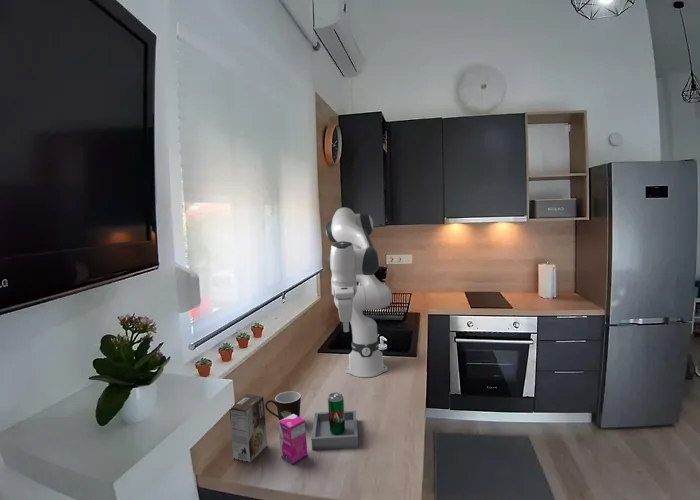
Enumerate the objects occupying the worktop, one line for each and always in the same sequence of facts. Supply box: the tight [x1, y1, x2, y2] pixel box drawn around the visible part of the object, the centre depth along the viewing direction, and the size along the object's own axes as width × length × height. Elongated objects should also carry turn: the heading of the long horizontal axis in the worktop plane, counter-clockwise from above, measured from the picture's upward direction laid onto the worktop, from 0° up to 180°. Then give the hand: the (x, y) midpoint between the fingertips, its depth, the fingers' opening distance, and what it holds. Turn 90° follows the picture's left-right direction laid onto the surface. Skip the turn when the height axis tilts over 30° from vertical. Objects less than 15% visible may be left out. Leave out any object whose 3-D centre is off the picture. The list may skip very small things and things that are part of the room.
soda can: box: [327, 392, 345, 435], centre depth 128 cm, size 5×5×12 cm
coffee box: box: [229, 393, 268, 463], centre depth 121 cm, size 9×6×16 cm
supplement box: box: [278, 414, 309, 465], centre depth 117 cm, size 6×6×12 cm
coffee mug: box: [264, 390, 302, 422], centre depth 136 cm, size 12×9×10 cm
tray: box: [311, 410, 359, 451], centre depth 129 cm, size 16×14×4 cm
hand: (346, 327), depth 140 cm, fingers open, 8 cm apart
